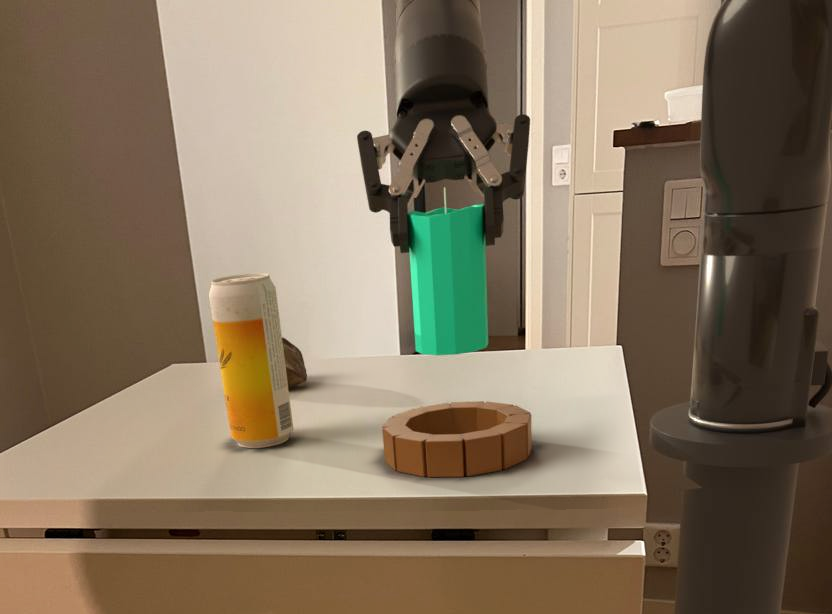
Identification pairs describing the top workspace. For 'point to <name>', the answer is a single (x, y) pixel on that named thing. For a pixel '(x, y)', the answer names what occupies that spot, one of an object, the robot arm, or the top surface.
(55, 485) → the top surface
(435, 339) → the candle
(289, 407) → the beer can
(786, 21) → the robot arm
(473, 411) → the brown segmented block ring
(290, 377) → the fossilized seashell
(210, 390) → the top surface
